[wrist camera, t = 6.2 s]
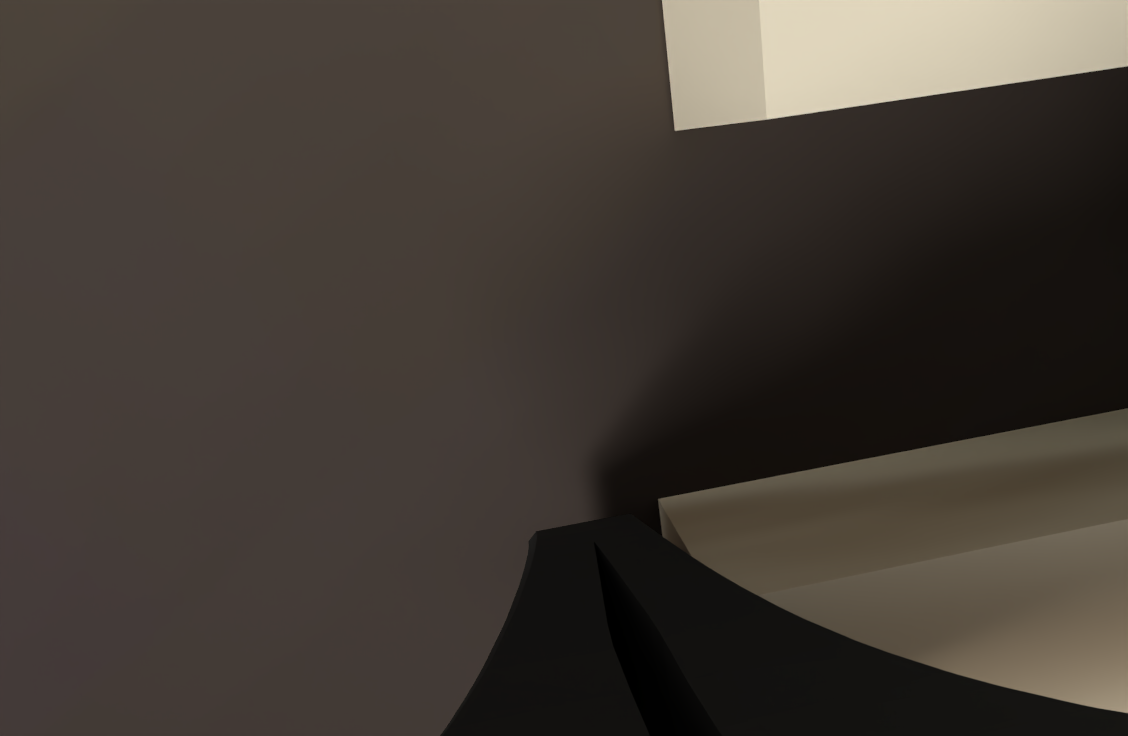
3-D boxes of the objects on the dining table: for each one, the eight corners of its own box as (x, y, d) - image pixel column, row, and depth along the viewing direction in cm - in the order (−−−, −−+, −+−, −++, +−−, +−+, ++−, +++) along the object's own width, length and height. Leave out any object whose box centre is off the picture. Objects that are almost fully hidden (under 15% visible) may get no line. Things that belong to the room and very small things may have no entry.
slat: (1368, 546, 13) (1621, 653, 10) (678, 695, 12) (746, 860, 9) (1398, 346, 12) (1684, 403, 9) (651, 489, 11) (719, 603, 8)
